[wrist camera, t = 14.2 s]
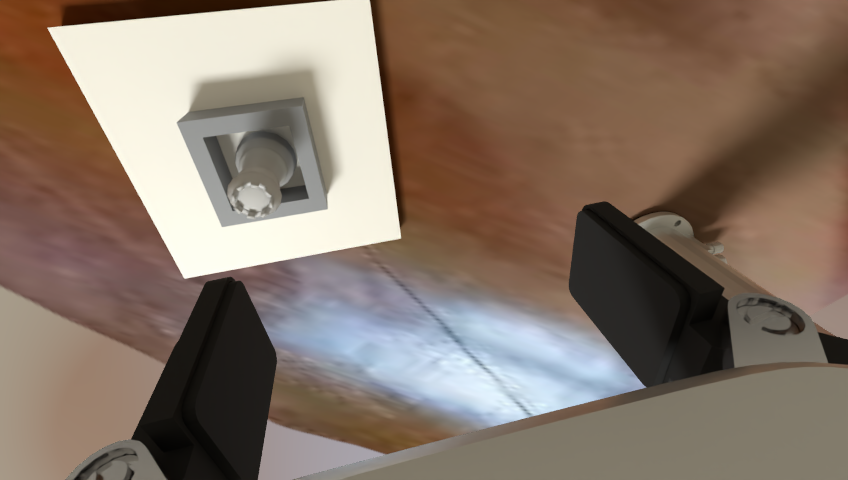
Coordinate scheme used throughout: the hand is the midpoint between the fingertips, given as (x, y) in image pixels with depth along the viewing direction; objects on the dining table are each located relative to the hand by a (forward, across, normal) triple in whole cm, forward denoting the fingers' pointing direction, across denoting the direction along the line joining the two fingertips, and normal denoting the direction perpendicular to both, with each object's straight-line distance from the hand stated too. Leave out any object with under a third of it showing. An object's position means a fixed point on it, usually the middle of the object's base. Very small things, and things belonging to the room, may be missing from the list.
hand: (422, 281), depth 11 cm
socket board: (+24, +9, +3) cm, 26 cm away
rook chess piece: (+23, +9, +3) cm, 25 cm away
